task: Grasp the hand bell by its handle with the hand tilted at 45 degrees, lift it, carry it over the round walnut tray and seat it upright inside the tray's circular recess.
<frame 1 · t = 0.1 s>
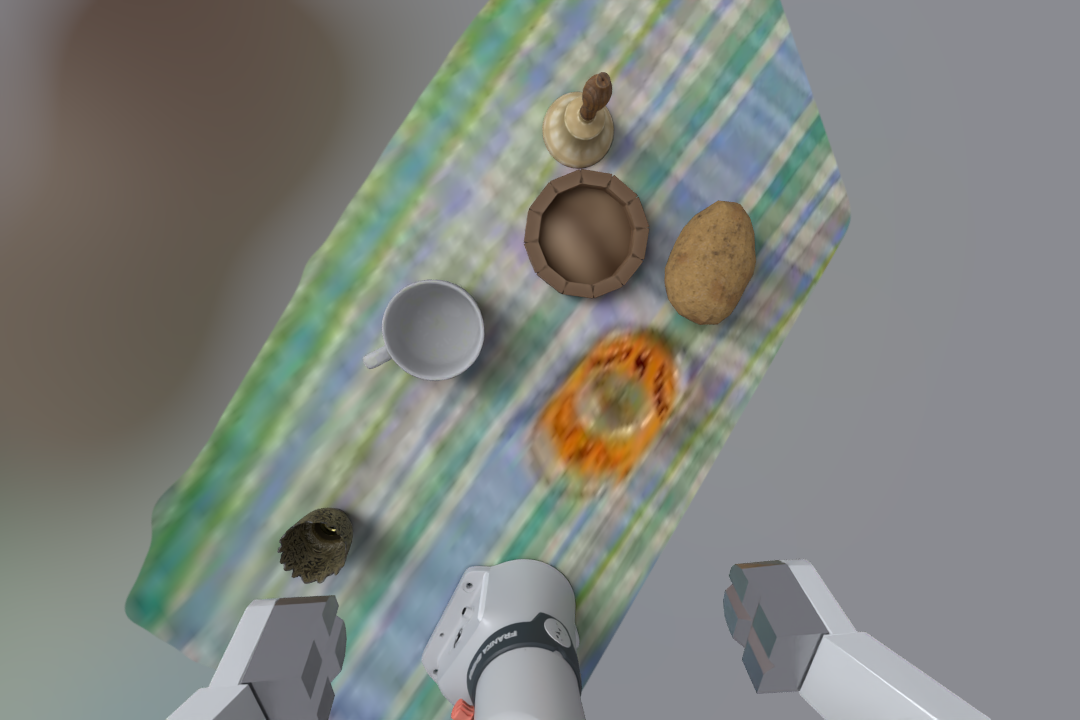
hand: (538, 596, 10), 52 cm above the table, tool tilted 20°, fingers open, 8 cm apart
hand bell: (577, 131, 58), on the table
tray: (583, 237, 60), on the table
potato: (696, 264, 62), on the table
teacup: (429, 327, 61), on the table
cup: (336, 518, 64), on the table
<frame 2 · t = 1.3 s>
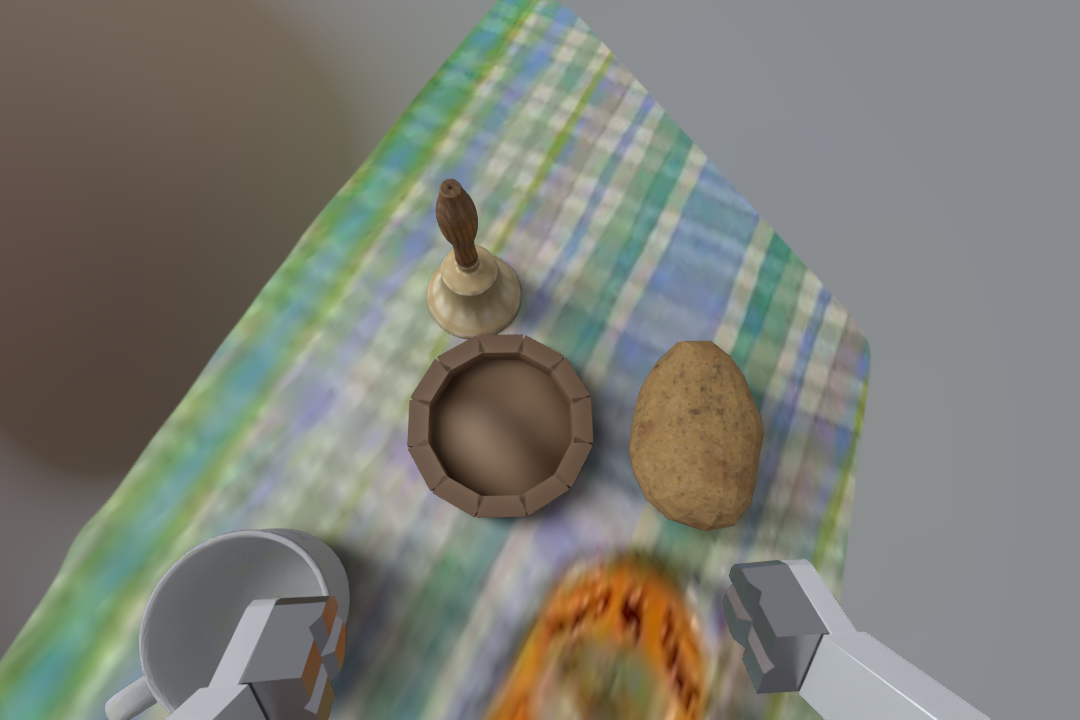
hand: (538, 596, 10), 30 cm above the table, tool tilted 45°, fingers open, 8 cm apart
hand bell: (474, 296, 45), on the table
tray: (502, 427, 41), on the table
potato: (676, 439, 42), on the table
teacup: (271, 612, 37), on the table
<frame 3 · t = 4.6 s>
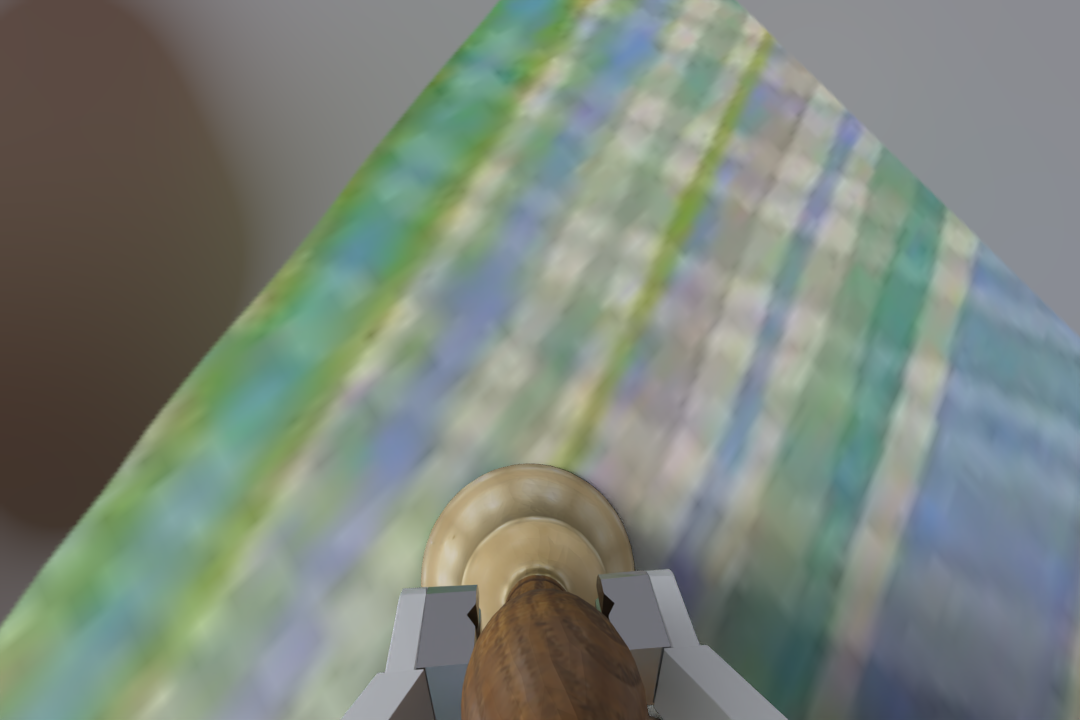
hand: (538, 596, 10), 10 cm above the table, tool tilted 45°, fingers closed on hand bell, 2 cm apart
hand bell: (529, 571, 20), on the table, touching gripper
when the fingers open (12 cm above the table, at t = 9.6 s): hand bell drops 1 cm, resting on tray.
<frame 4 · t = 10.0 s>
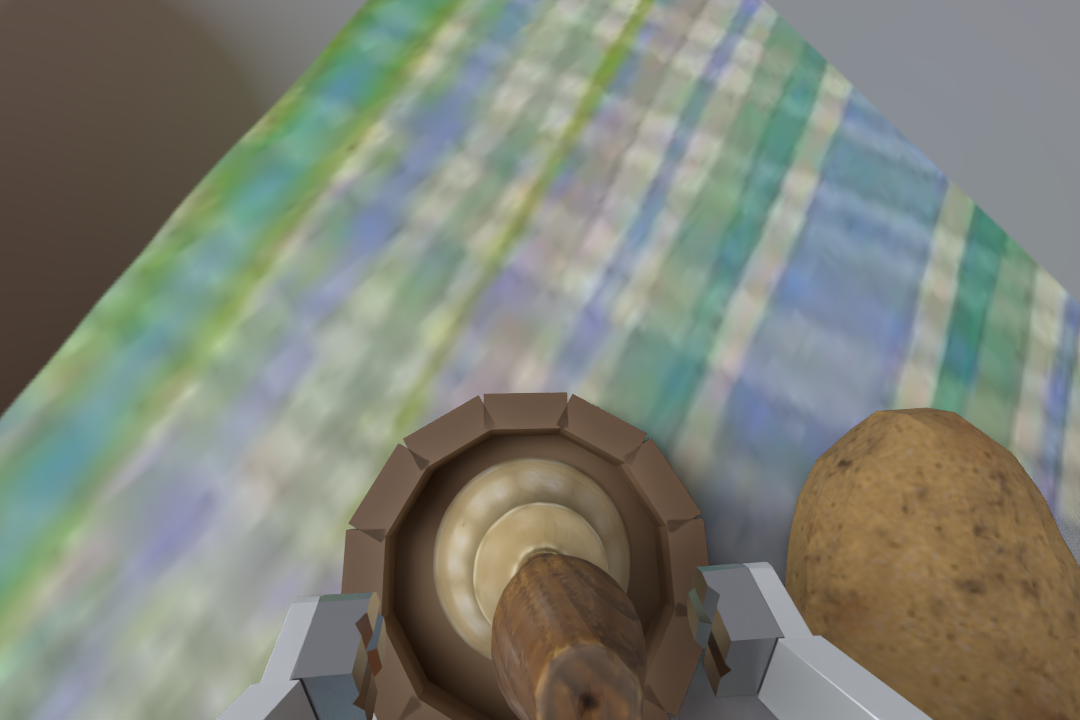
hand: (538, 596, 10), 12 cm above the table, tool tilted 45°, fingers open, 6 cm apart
hand bell: (533, 556, 21), point 1 cm above the table, touching tray
tray: (527, 563, 22), on the table
potato: (848, 580, 23), on the table
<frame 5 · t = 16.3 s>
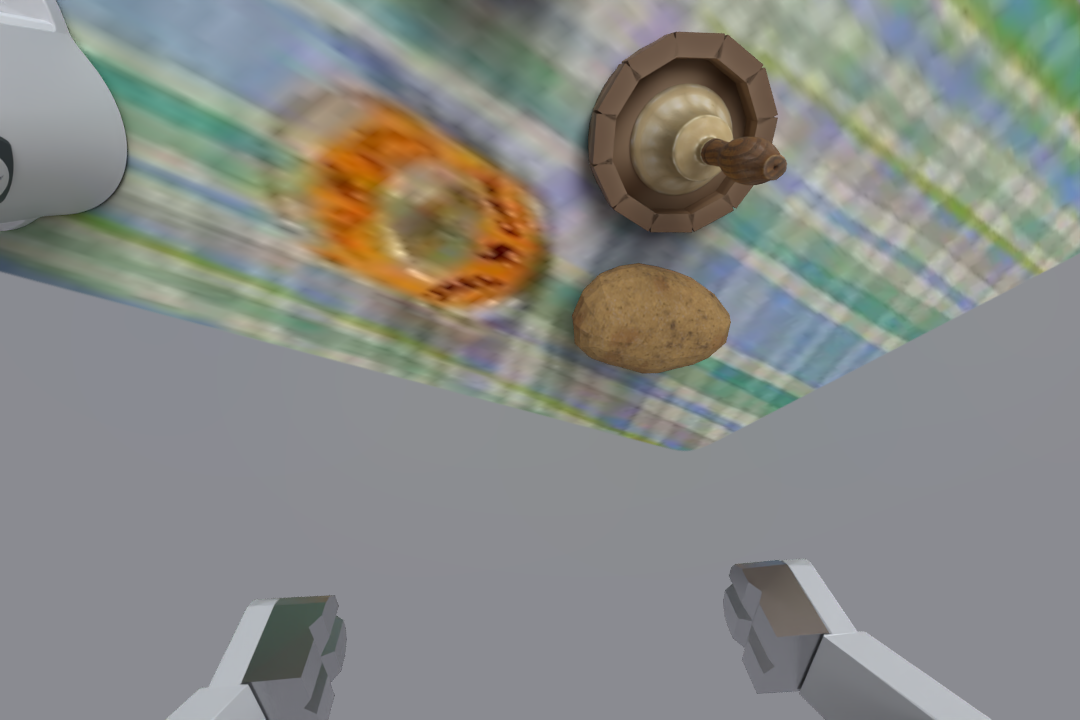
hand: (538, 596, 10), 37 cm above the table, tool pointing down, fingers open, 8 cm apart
hand bell: (679, 141, 41), point 1 cm above the table, touching tray
tray: (672, 137, 41), on the table
potato: (637, 301, 48), on the table
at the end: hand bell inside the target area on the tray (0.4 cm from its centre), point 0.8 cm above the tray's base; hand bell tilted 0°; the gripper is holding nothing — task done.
